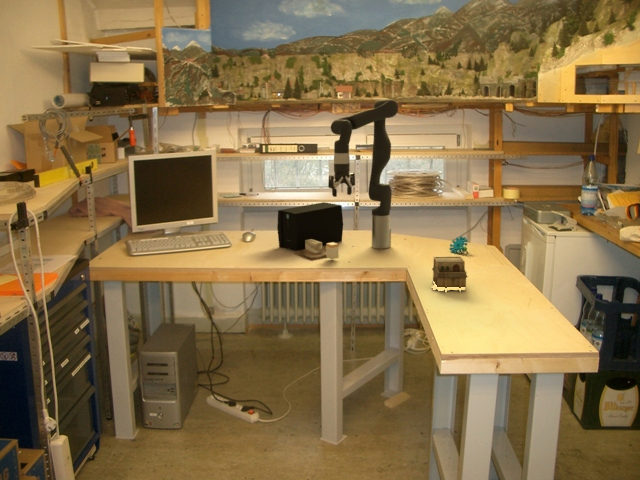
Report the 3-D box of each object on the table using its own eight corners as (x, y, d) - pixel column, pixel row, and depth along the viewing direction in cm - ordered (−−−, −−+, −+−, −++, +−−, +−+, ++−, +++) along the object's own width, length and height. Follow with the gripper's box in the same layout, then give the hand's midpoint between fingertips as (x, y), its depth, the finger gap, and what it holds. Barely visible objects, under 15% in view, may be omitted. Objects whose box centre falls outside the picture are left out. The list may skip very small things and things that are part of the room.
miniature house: (426, 281, 260) (427, 255, 257) (459, 281, 260) (460, 255, 257) (432, 293, 245) (433, 265, 243) (467, 292, 245) (469, 265, 242)
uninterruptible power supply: (278, 247, 322) (276, 209, 317) (325, 236, 344) (324, 201, 339) (297, 252, 310) (296, 214, 305) (345, 241, 332) (345, 205, 327)
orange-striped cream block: (333, 255, 297) (333, 242, 296) (338, 257, 294) (338, 244, 292) (326, 257, 295) (326, 243, 293) (331, 259, 291) (331, 245, 290)
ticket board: (320, 248, 317) (320, 237, 315) (338, 255, 304) (338, 242, 302) (294, 253, 308) (294, 241, 307) (311, 260, 295) (311, 247, 294)
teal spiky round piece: (445, 247, 309) (458, 232, 309) (451, 254, 312) (464, 239, 312) (457, 255, 299) (471, 240, 299) (463, 262, 302) (477, 247, 302)
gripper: (348, 160, 299) (349, 193, 303) (325, 162, 291) (325, 196, 295) (358, 161, 293) (358, 195, 297) (334, 164, 285) (334, 198, 289)
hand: (342, 195), depth 296 cm, fingers open, 8 cm apart
